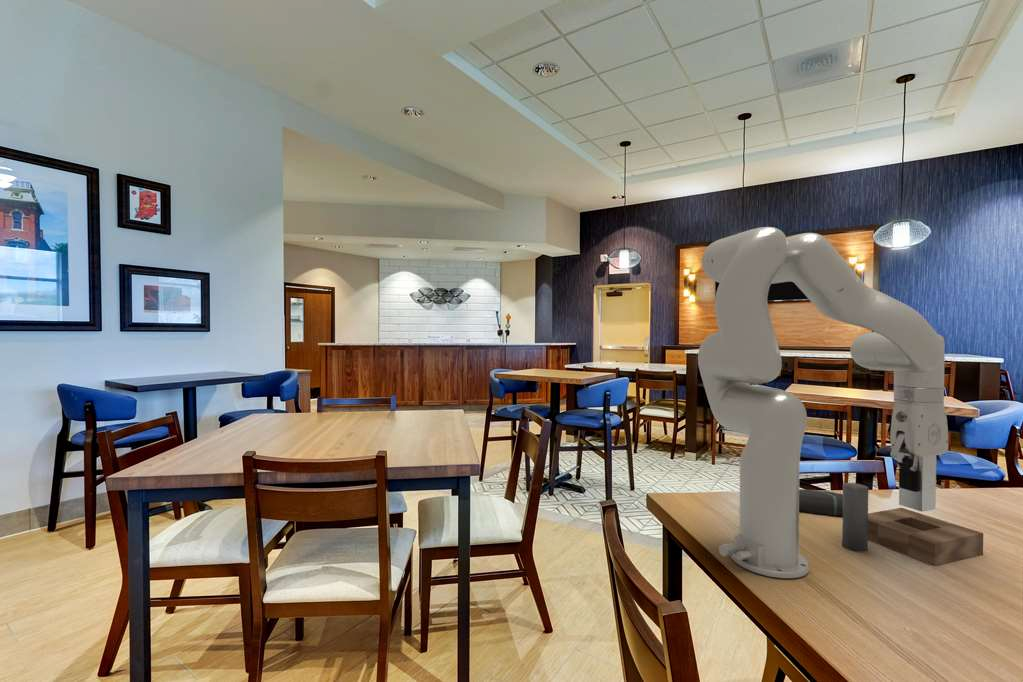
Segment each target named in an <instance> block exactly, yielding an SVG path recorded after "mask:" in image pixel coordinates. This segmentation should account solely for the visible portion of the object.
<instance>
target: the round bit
mask: <svg viewBox="0 0 1023 682" xmlns="http://www.w3.org/2000/svg"><path fill="white" fill-rule="evenodd" d="M842 494H843V516H842V525H841V526H842V527H841V528H842V532H841V533H842V536H841V537H842V540H841V542H842V543H841V544H842V547H843V548H845V549H846V550H850V551H853V552H857V553H867V552H868V549H869V548H868V546H869V545H868V544H869V540H868V513H869V487H868V485H867V486H866V485H863V484H861V483H855V482H844V483H842Z"/></svg>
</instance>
